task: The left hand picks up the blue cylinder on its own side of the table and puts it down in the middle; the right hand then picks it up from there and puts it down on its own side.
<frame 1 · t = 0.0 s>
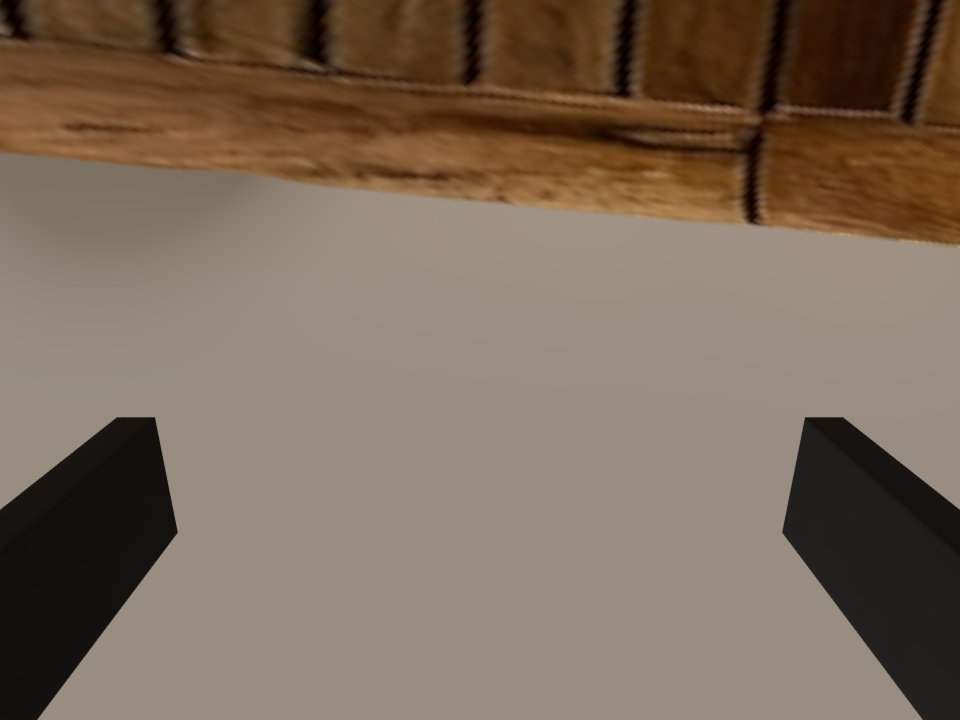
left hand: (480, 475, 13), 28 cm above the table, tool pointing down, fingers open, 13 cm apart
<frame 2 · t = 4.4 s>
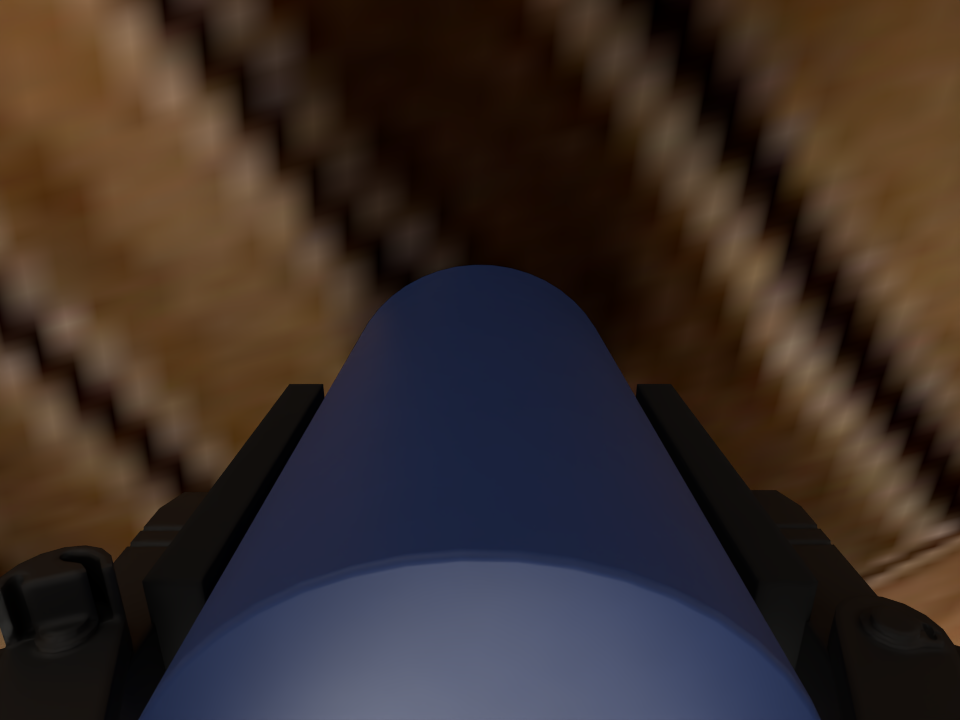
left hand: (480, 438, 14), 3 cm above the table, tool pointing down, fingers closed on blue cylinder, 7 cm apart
blue cylinder: (480, 393, 17), on the table, touching left hand
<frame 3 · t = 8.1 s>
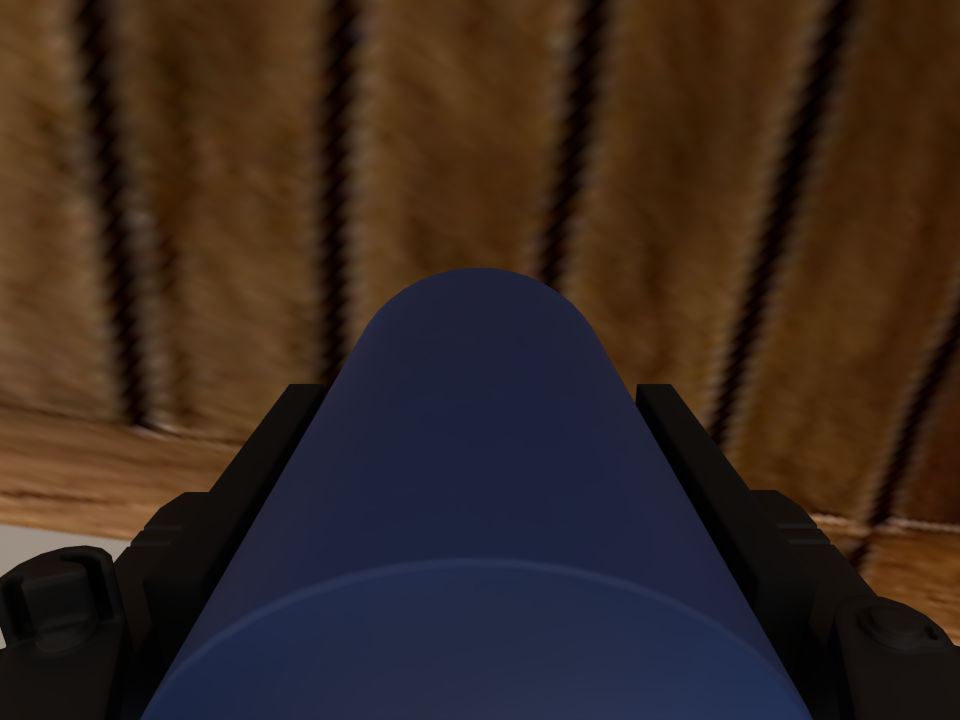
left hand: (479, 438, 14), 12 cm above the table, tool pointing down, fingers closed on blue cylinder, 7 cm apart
blue cylinder: (478, 395, 17), point 9 cm above the table, touching left hand
when the left hand's fingers open (5 cm above the table, at t = 12.1 s): blue cylinder drops 2 cm, on the table.
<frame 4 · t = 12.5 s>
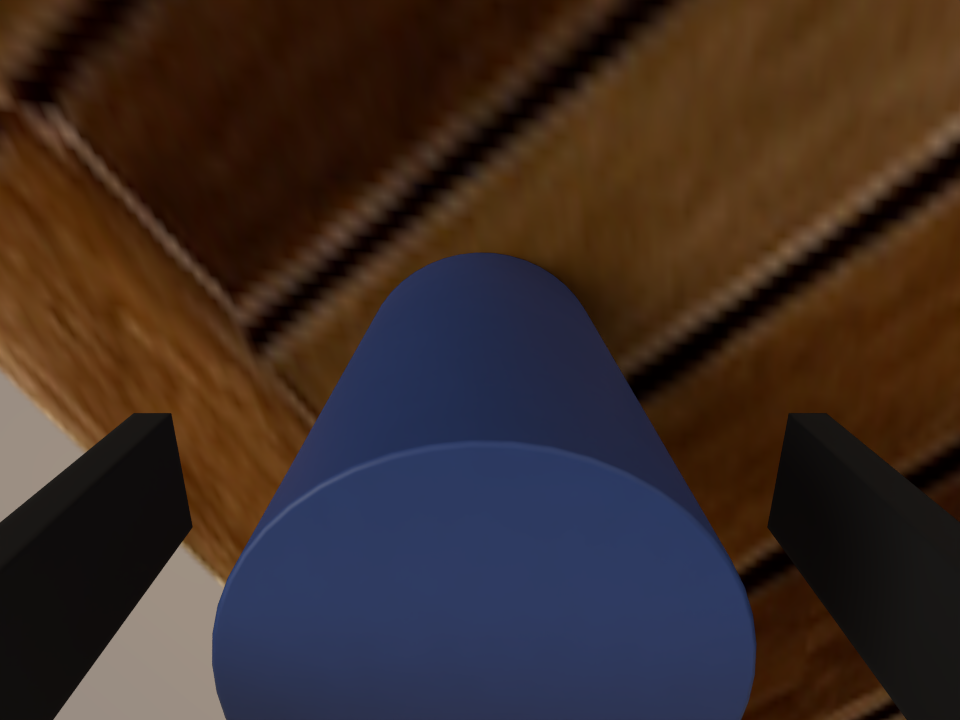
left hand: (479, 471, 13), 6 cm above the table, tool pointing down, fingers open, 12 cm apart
blue cylinder: (481, 368, 19), on the table
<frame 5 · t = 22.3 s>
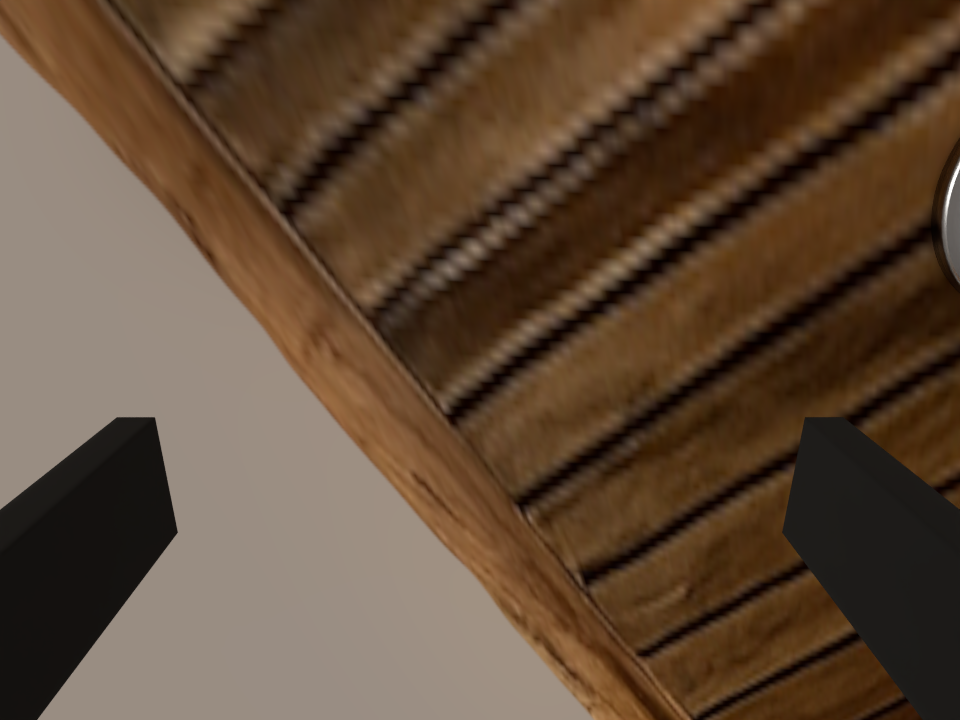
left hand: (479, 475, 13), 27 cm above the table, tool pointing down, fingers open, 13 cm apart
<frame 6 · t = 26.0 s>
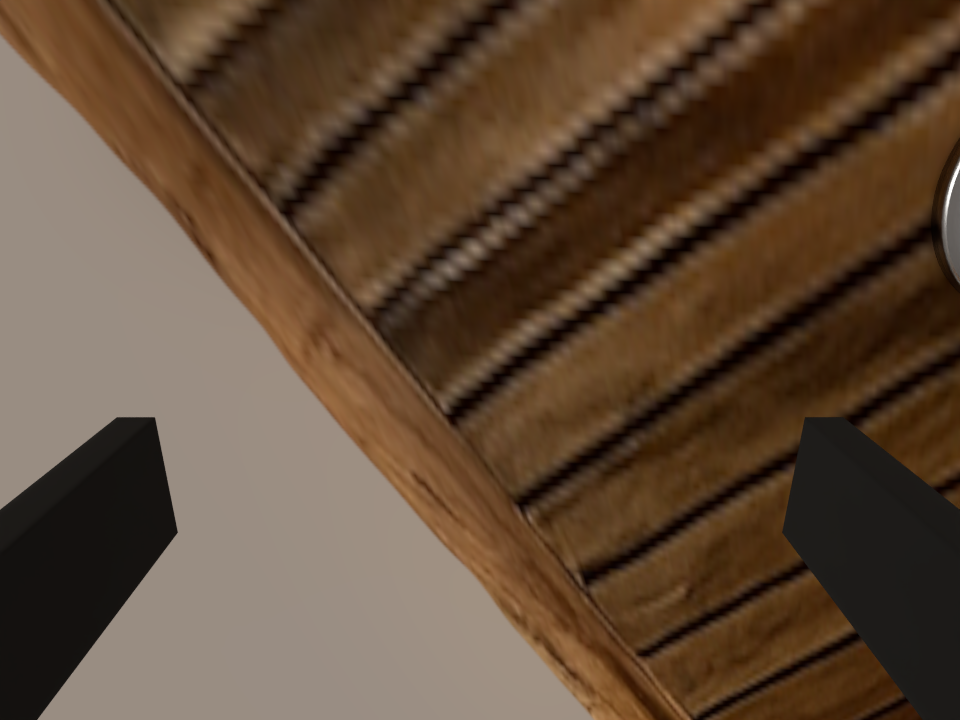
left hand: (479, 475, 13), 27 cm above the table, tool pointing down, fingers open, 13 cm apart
when the right hand's fingers open (5 cm above the table, at t = 30.0 s): blue cylinder drops 2 cm, on the table.
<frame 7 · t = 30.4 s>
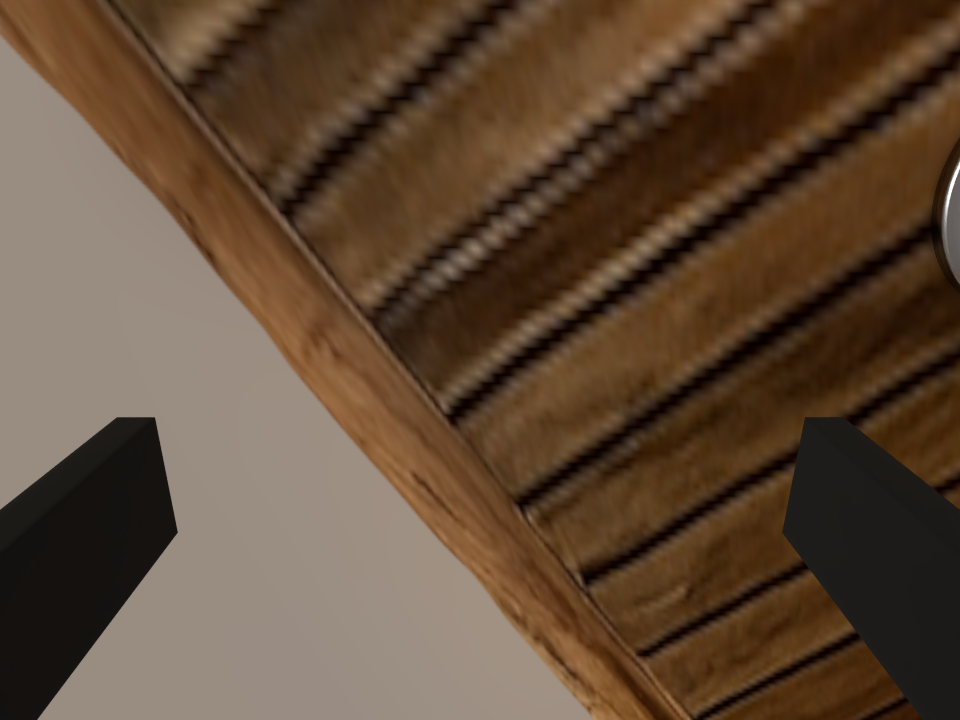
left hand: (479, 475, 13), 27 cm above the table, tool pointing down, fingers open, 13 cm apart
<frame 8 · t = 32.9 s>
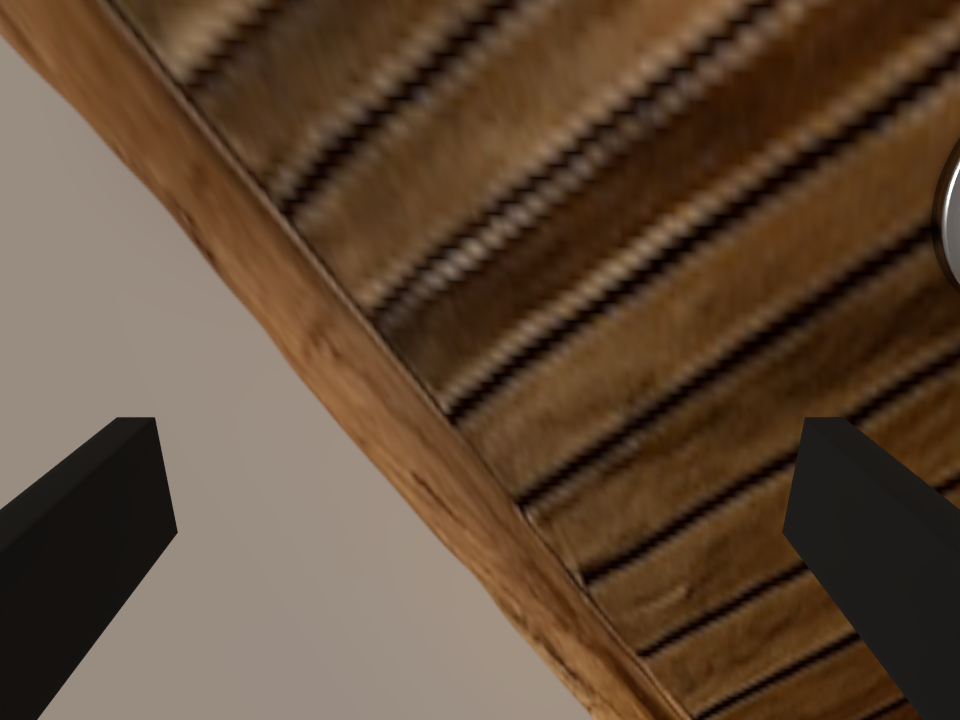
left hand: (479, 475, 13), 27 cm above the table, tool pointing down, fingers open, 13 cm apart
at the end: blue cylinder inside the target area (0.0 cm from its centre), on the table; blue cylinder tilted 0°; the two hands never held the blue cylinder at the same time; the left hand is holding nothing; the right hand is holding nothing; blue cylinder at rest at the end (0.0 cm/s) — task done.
